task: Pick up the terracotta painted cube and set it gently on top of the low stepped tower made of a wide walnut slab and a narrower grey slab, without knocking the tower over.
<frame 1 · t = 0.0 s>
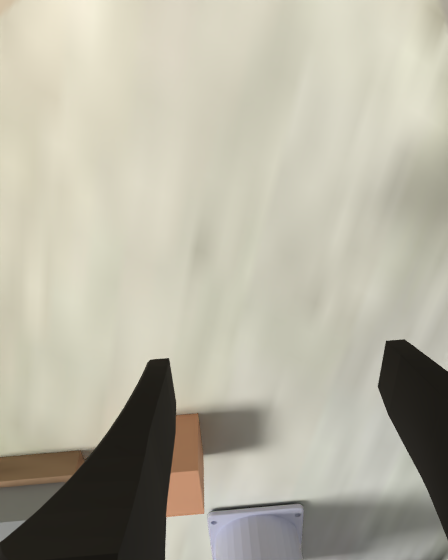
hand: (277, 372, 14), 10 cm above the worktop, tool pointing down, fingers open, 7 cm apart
walnut slab: (47, 478, 32), on the worktop, touching grey slab
grey slab: (35, 509, 30), point 2 cm above the worktop, touching walnut slab
terracotta cube: (169, 436, 30), on the worktop
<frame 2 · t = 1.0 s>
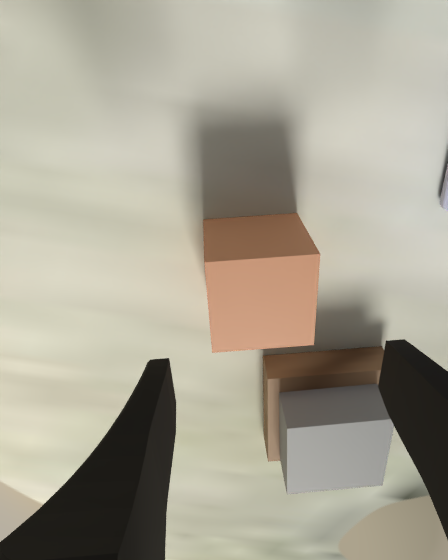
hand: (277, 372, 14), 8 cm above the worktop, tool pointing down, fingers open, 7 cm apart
walnut slab: (316, 387, 27), on the worktop
grey slab: (325, 422, 25), point 2 cm above the worktop
terracotta cube: (251, 257, 21), on the worktop
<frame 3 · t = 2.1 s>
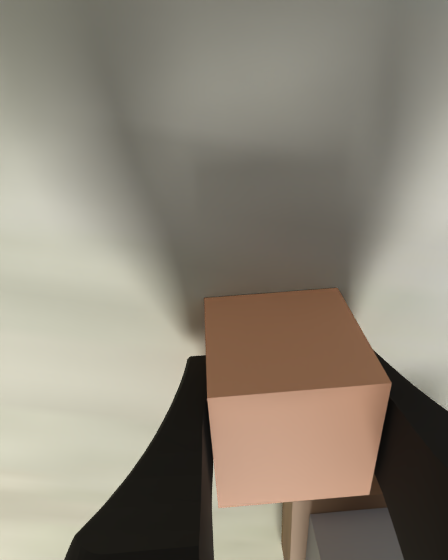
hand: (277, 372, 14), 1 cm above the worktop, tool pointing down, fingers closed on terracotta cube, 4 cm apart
walnut slab: (350, 489, 21), on the worktop, touching grey slab
grey slab: (367, 544, 19), point 2 cm above the worktop, touching walnut slab
terracotta cube: (270, 345, 15), on the worktop, touching gripper
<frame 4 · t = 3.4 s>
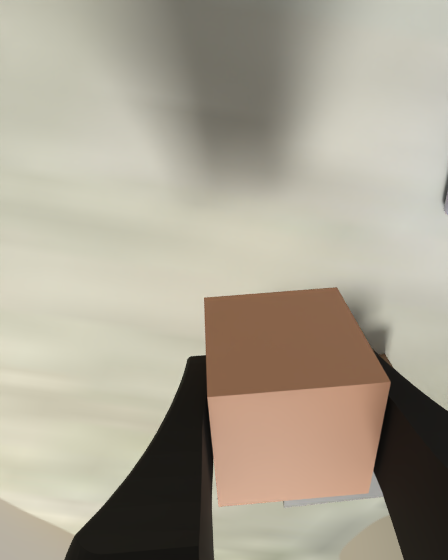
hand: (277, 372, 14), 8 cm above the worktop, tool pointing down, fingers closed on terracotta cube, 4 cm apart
grey slab: (323, 431, 24), point 2 cm above the worktop
terracotta cube: (270, 344, 15), point 6 cm above the worktop, touching gripper
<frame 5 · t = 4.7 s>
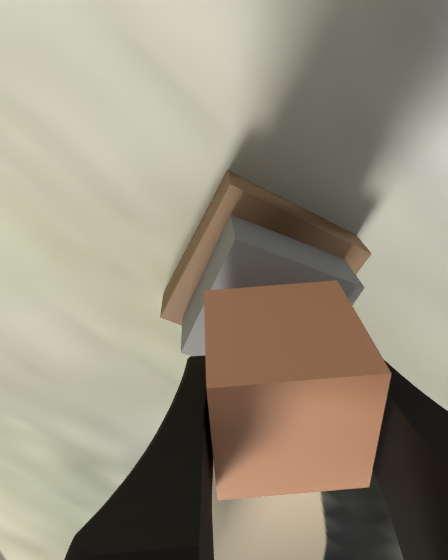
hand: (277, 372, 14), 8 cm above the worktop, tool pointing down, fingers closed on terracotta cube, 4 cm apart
walnut slab: (256, 260, 21), on the worktop, touching grey slab
grey slab: (261, 289, 19), point 2 cm above the worktop, touching walnut slab
terracotta cube: (270, 338, 15), point 6 cm above the worktop, touching gripper
when the fingers open (7 cm above the worktop, at t = 5.2 s): terracotta cube drops 1 cm, resting on grey slab.
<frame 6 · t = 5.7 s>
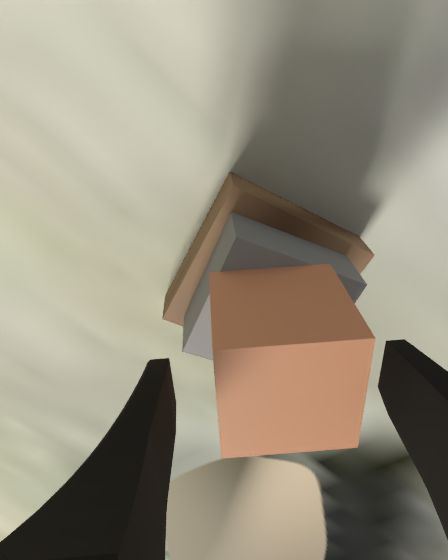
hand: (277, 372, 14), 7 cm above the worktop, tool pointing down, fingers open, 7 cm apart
walnut slab: (258, 262, 21), on the worktop, touching grey slab
grey slab: (262, 286, 19), point 2 cm above the worktop, touching terracotta cube, walnut slab
terracotta cube: (269, 318, 16), point 4 cm above the worktop, touching grey slab
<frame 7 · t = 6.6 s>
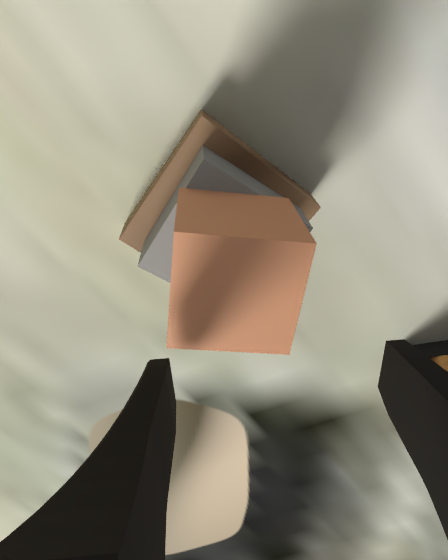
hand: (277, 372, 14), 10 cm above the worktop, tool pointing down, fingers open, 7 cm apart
walnut slab: (217, 205, 22), on the worktop
grey slab: (221, 225, 20), point 2 cm above the worktop, touching terracotta cube
terracotta cube: (227, 243, 18), point 4 cm above the worktop, touching grey slab
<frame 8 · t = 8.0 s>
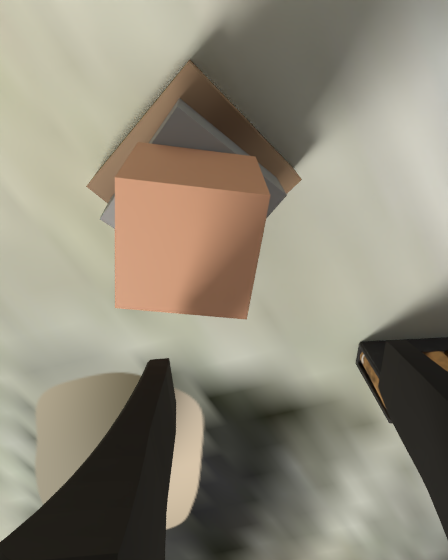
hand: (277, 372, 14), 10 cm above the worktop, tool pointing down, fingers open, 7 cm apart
walnut slab: (195, 168, 21), on the worktop, touching grey slab
grey slab: (193, 188, 19), point 2 cm above the worktop, touching terracotta cube, walnut slab
terracotta cube: (192, 205, 17), point 4 cm above the worktop, touching grey slab
ammunition clip: (434, 346, 28), on the worktop
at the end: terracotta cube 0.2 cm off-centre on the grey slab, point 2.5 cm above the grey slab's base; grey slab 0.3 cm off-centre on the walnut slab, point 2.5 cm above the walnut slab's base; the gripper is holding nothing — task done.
